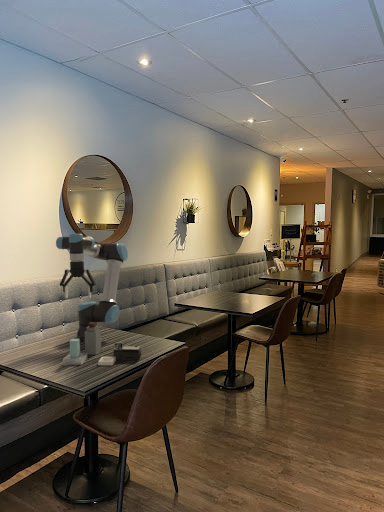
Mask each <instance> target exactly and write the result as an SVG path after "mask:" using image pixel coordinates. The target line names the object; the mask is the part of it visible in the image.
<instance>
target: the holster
mask: <svg viewBox="0 0 384 512" xmlns="http://www.w3.org/2000/svg"><path fill="white" fill-rule="evenodd" d="M115 362H117V360H116V357H113V356H101V357H100V358H99V360H98V362H97V363H98V364H97V365H98V366H113V365H114V364H115Z"/></svg>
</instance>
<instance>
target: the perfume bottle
mask: <svg viewBox="0 0 384 512" xmlns="http://www.w3.org/2000/svg"><path fill="white" fill-rule="evenodd" d="M86 329H87V331H85V340H84V353H87V355H98V354H100V353H101V352H102V335H101V333H102V332H101V329H99V325H97V326H96V322H90V323H89V326H88V327H87V328H86Z"/></svg>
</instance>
